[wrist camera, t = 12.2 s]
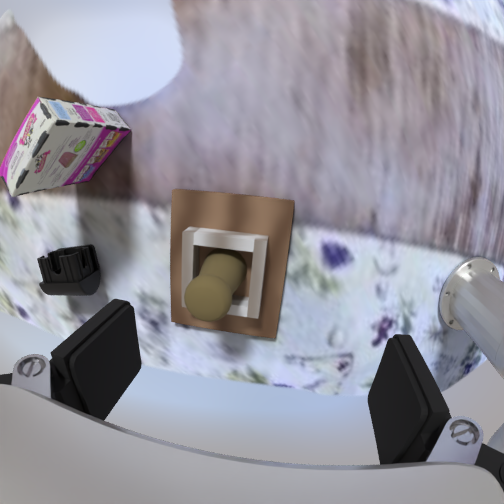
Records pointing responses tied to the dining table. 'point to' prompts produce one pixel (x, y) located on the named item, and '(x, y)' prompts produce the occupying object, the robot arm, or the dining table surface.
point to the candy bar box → (60, 145)
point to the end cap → (70, 271)
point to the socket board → (235, 238)
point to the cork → (215, 285)
